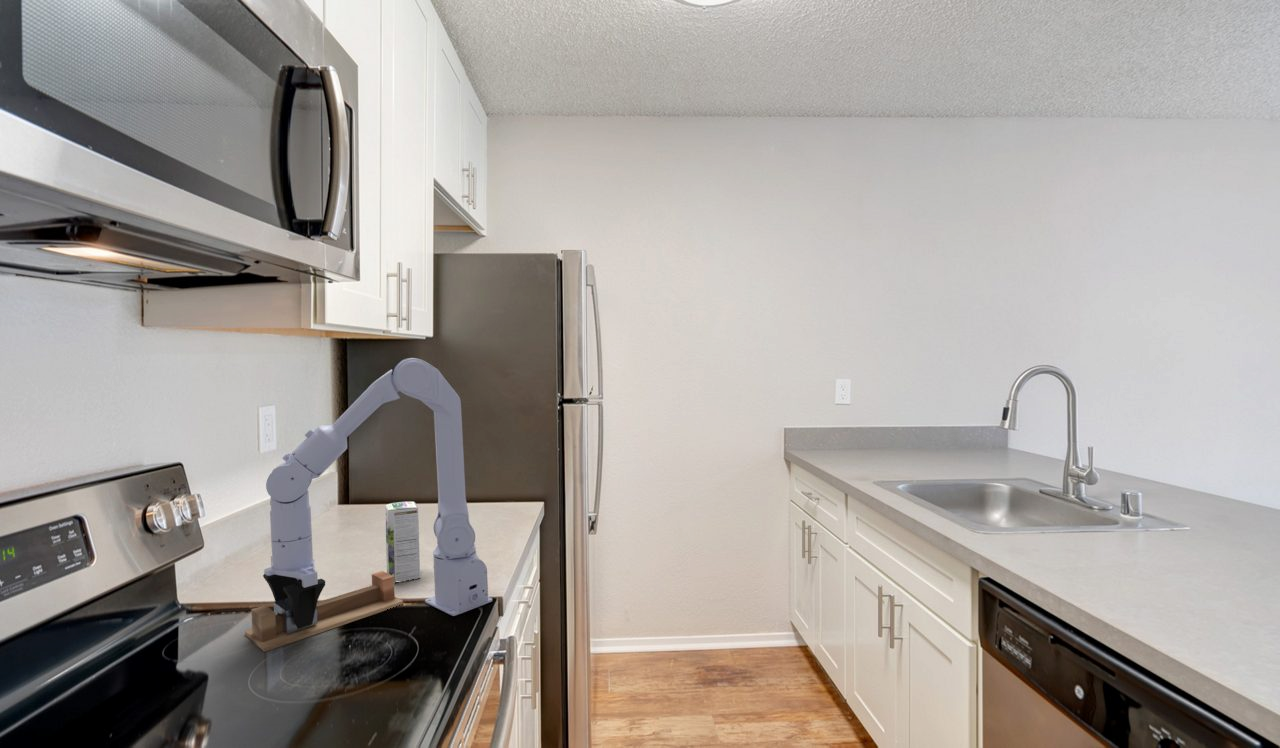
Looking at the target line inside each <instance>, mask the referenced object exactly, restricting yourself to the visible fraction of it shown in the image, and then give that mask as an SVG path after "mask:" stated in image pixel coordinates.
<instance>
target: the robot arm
mask: <svg viewBox="0 0 1280 748" xmlns="http://www.w3.org/2000/svg"><path fill="white" fill-rule="evenodd" d="M399 392H401V393H402V394H403V395H405V396H408V397H410V398H413V399H417V400H419V401H420V402H422V403H423V404H424V405H425V406H427V407H428V408H429V409H431V411H433V420H434V421H433V423H434V438H435V441H434V442H435V457H436V458H435V459H436V460H435V461H436V477H437V479H436V480H437V481H436V482H437V493H438V494H437V498H438V499H437V500H438V501H437V516H436V518H435V520H434V522H433V523H434V524H433V533H434V536H435V537H436V544H437V546H436V547H435V549H434V550H433V552H432V553H433V573H434V574H433V575H434V576H433V578H434V582H433V583H434V596H432V597H428V598H425V600H424V602H425V603H426V604H427V605H430V606H431V607H434V608H436V609H438V610H440V611H442V612H444V613H445V614H448V615H450V616H452V617H455V616H458V615H461V614H464V613H467V612H468V611H469V612H470V611H471V610H474V609H477V608H479V607H481V606H485V605H486V604H489V603H491V602H493V598H492V597H490V596H489V591H488V590H489V589H488V588H489V585H488V582H489V581H488V568H487V565H486V563H485V562H484V561H483V560H482V559H480V558H479V556H478V554H477V550H476V548H477V547H476V545H475V542H476V531H475V529H474V528H473V526H472V525H471V522H470V519H469V517H470V516H469V509H468V503H467V498H466V497H467V495H466V479H465V477H466V476H465V457H464V455H465V454H464V441H463V440H464V437H463V419H462V402H461V398H460V396H459V395H458V393H457V392H456V391H455V389H454V388H453V387H452V386H451V385H450V382H448V381H447V380H446V378H445V377H444V375H443V374H442V373H441V372H440V370H439V369H438V368H436V367H435V366H434V365H432V364H430V363H429V362H427V361H425V360H423V359H420V358H415V357H410V358H409V357H408V358H404V359H402V360H401V361H400V362H398V364H397V365H396V366H395V367H394V369H390V370H388V371H387V372H385V373H384V374H383V375H381V376H380V377H379V378H377V379H376V380H374V381H373V382H372V383H371V384H370V385H369V386H368V387H367V388H366V390H364V391H363V393H361V395H359V397H357V398H356V400H355V401H354V402H353V403H351V405H350V406H349V407H348V408H347V409H346V410H345V411H344V412H343V413H342V414H341V415H340V416H339V418H337V420H335V422H334V423H333V424H328V425H327V424H325V425H318V426H317V427H316V428H315V429H313V428H310V429H309V430H308V431H307V432H306V433H305V434H304V436H305V437H306V438H305V439H304V440H303V441H302V442H301V443H300V444H299V445H298V446H296V448H295V449H294V450H293V451H292V452H290V453H289V452H287V453H286V454H285V455H284V456H283V457H282V460H283V461H284V462H283V463H281V464H279V465H277V466H276V467H275V468H273V470H272V471H271V472H270V474H269V475H268V477H267V479H266V483H265V488H266V489H265V490H266V492H267V494H268V496H270V500H269V503H270V504H269V505H270V512H269V517H270V518H269V519H270V520H269V521H270V541H271V555H270V567H267V568H264V570H263V575H262V576H263V579H264V580H265V581H266V583H267V585H268V586H269V589H270V590H271V593H272V595H273V598H274V602H276V601H279V600H282V599H286V598H289V600H290V603H291V606H292V610H293V615H294V620H295V624H296V626H297V628H298V629H300V628H303V627H306V626H309V625H312V623H313V619H314V614H315V609H316V605H317V602H319V598H320V596H321V594H322V591H323V590H324V589H325V586H326V580H325V579H323V578H318V571H316V569H315V568H316V566H315V559H314V554H313V553H314V552H313V534H312V533H313V531H312V528H313V527H312V512H311V511H312V509H311V505H310V500H309V499H310V497H309V495H310V494H309V490H308V489H309V487H310V485H311V484H312V481H313V480H314V479H317V478H319V477H320V476H321V475H322V474H324V473H325V472H326V470H328V468H329V467H330V466H332V464H334V463H335V461H336V460H337V459H339V458H340V457H341V456H342V455H343V453H344V452H346V450H348V437H349V435H351V434H352V433H353V432H354V431H355V430H357V428H358V427H359V426H360V425H362V423H364V422H365V421H366V420H367V419H368V418H369V417H370V416H372V414H374V412H375V411H376V410H377V409H379V407H380V406H382V405H383V404H385V403H389V402H392V401H397V400H399V399H401V397H400V395H399Z"/></svg>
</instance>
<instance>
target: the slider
mask: <svg viewBox="0 0 1280 748" xmlns="http://www.w3.org/2000/svg"><path fill="white" fill-rule="evenodd" d="M273 611H274V612H275V615H277V614H281V615H282V616H283V630H284V632H286V633H287V634H288V633H291V632H294V631H297V630H300V629H303V628H306V627H309V626H312V625H315V624H317V605H316V609H315V614H314V619H313V623H312V625H309V626H306V627H303V628H300V629H298V628H297V626H296V624H295V620H294V615H293V610H292V606H291V603H290V600H289V598H286V599H282V600H279V601H276V602H275V601H273Z"/></svg>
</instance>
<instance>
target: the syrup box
mask: <svg viewBox="0 0 1280 748" xmlns="http://www.w3.org/2000/svg"><path fill="white" fill-rule="evenodd" d="M419 521H420V520H419V507H418V505H417V503H416V502H415V501H399V502H391V503H388V504H385V552H386V556H385V557H386V558H385V559H386V573H388V574H390V575H392V576H394V582H396V581H404V580H409V581H413V580H412V579H414V580H418V578H419V579H420V578H421V569H420V567H421V566H420V565H421V563H420V562H421V561H420V560H421V559H420V524H419ZM404 582H405V581H404Z"/></svg>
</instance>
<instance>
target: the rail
mask: <svg viewBox="0 0 1280 748" xmlns="http://www.w3.org/2000/svg"><path fill="white" fill-rule="evenodd" d="M395 594H396V593H395V583H394V576H392V575H390V574H388V573H387V571H384V570H381V571H377V572H374V573H371V585H370V586H369V585H368V586H366V587H362V588H360V589H356V590H352V591H350V592H346V593H343V594H339V595H337V596H333V597H330V598H326V599H324V600H320V601H317V624H315V625H312V626H309V627H306V628H303V629H300V630H297V631H294V632H291V633H288V634H287V633H286V632H284V630H283V616H282V615H281V614H277V615H275V612H274V609H271V608H270V607H269V606H267V605H266V604H265V605H261V606H258V607H254V608H251V610H250V611H251V612H250V613H251V628H249V629H247V630H245V631H244V635H245V636H246V637H247V638H248V639H249V640H251V642H253V643H254V644H255V645H256V646H257V647H258V648H259V649H260V650H262V651H263V652H264V653H265V652H269V651H271V650H275V649H276V648H280V647H283V646H286V645H289V644H291V643H294V642H298V641H301V640H303V639H306V638H308V637H309V638H310V637H312V636H315V635H318V634H321V633H323V632H327V631H330V630H332V629H335V628H339V627H342V626H344V625H347V624H350V623H352V622H355V621H358V620H361V619H364V618H367V617H371V616H374V615H377V614H380V613H382V612H384V611H385V612H386V611H388V610H391V609H394V608H396V606H397V607H400V606H403V605H404V600H403V599H401V598H399V597H396V595H395ZM402 604H403V605H402ZM399 605H400V606H399ZM393 607H394V608H393ZM390 608H391V609H390ZM387 609H388V610H387Z"/></svg>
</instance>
